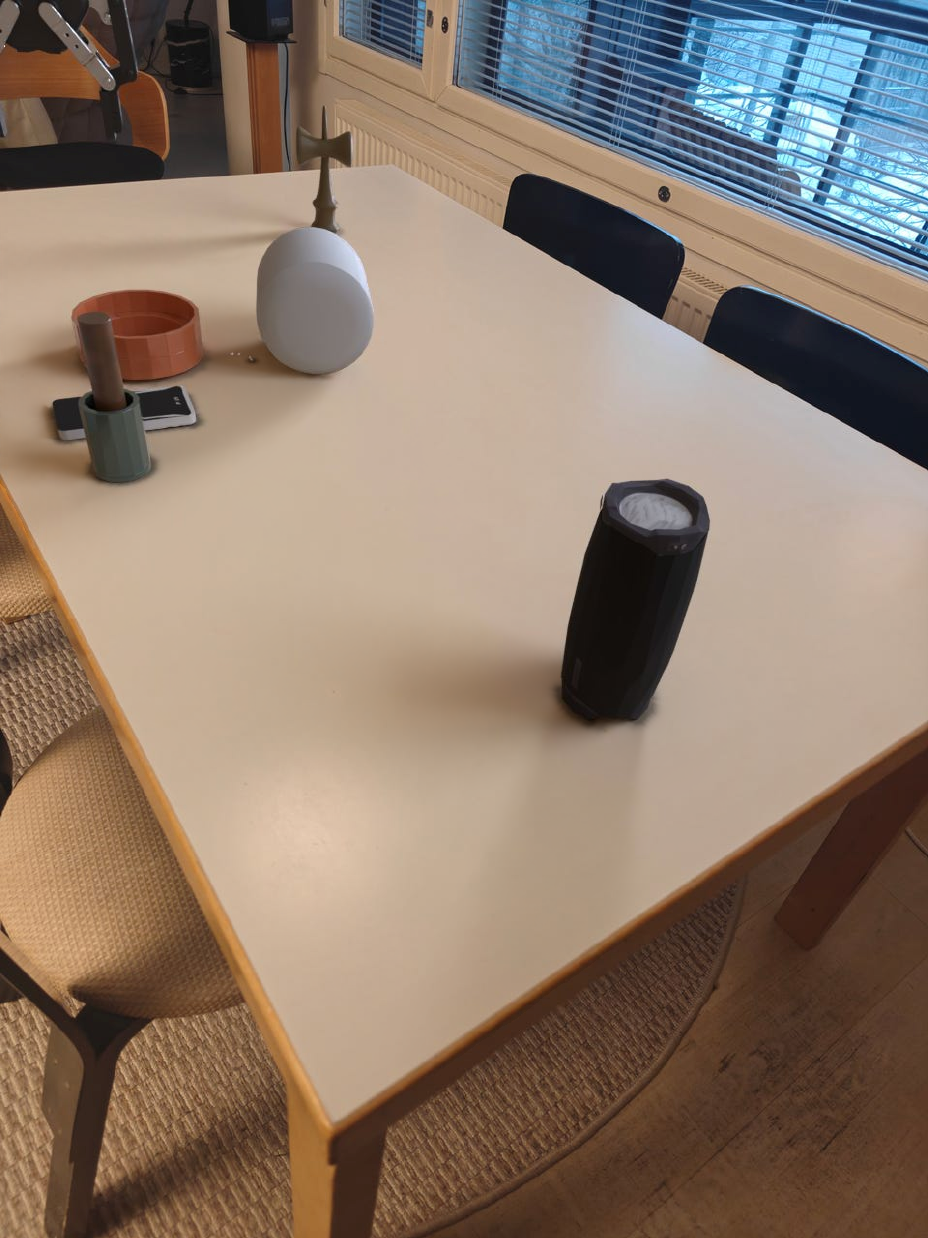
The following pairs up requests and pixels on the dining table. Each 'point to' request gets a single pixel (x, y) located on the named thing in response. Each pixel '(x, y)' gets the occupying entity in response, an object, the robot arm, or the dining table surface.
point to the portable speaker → (632, 596)
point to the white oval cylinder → (313, 301)
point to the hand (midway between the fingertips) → (57, 136)
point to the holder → (116, 439)
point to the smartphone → (156, 406)
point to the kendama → (324, 168)
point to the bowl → (148, 331)
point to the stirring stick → (102, 361)
